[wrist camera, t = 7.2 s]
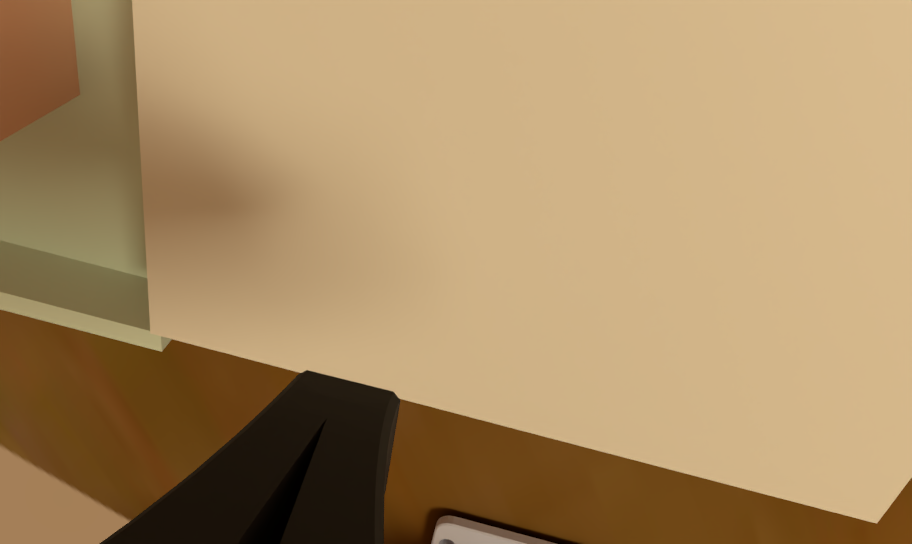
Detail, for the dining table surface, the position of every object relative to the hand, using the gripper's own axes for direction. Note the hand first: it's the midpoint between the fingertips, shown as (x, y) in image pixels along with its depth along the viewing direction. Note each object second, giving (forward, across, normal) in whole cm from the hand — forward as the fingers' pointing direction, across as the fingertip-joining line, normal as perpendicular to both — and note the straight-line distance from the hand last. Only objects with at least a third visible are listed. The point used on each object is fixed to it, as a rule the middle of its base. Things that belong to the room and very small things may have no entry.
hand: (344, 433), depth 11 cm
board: (+9, -3, -2) cm, 10 cm away
